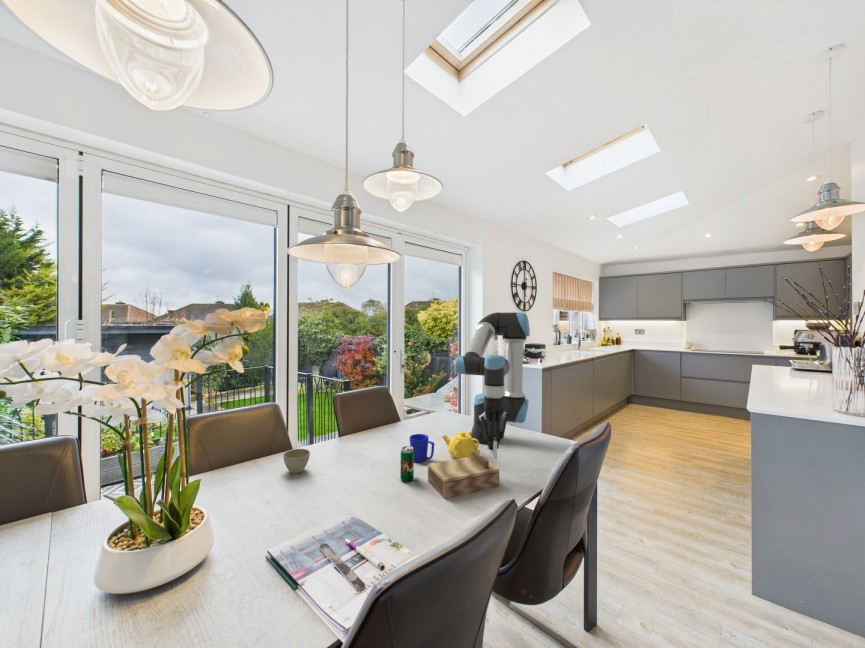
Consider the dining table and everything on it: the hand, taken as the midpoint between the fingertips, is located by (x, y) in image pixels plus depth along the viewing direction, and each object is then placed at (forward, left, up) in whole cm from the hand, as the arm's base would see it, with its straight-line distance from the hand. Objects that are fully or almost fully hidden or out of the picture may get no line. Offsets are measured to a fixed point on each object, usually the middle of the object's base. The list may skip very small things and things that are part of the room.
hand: (493, 457), depth 134 cm
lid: (+13, 0, -2) cm, 13 cm away
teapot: (0, -25, -9) cm, 27 cm away
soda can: (+30, -13, -9) cm, 34 cm away
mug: (+18, -27, -9) cm, 34 cm away
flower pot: (+68, -37, -9) cm, 78 cm away
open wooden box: (+13, 0, -9) cm, 16 cm away
